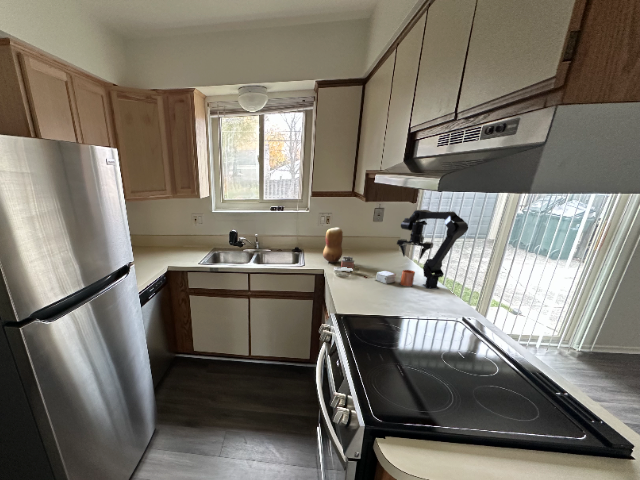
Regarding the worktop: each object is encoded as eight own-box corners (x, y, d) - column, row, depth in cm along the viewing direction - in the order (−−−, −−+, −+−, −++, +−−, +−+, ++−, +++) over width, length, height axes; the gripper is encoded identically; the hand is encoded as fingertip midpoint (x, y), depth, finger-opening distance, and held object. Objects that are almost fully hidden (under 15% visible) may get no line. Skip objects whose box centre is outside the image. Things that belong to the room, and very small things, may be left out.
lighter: (352, 270, 213) (354, 256, 209) (353, 272, 210) (355, 257, 206) (340, 270, 215) (342, 255, 211) (340, 271, 212) (342, 256, 208)
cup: (414, 286, 184) (417, 273, 181) (402, 286, 184) (405, 273, 181) (409, 282, 190) (412, 269, 187) (398, 282, 190) (400, 269, 187)
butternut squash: (319, 260, 238) (322, 226, 229) (336, 259, 241) (339, 225, 231) (327, 265, 226) (331, 229, 216) (345, 264, 228) (349, 229, 218)
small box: (375, 280, 195) (376, 272, 193) (384, 278, 198) (386, 270, 196) (385, 284, 188) (386, 275, 186) (395, 282, 191) (396, 273, 189)
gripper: (438, 231, 186) (433, 257, 192) (405, 228, 198) (401, 253, 204) (432, 234, 179) (427, 261, 184) (398, 230, 191) (394, 256, 197)
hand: (412, 257), depth 193 cm, fingers open, 9 cm apart
